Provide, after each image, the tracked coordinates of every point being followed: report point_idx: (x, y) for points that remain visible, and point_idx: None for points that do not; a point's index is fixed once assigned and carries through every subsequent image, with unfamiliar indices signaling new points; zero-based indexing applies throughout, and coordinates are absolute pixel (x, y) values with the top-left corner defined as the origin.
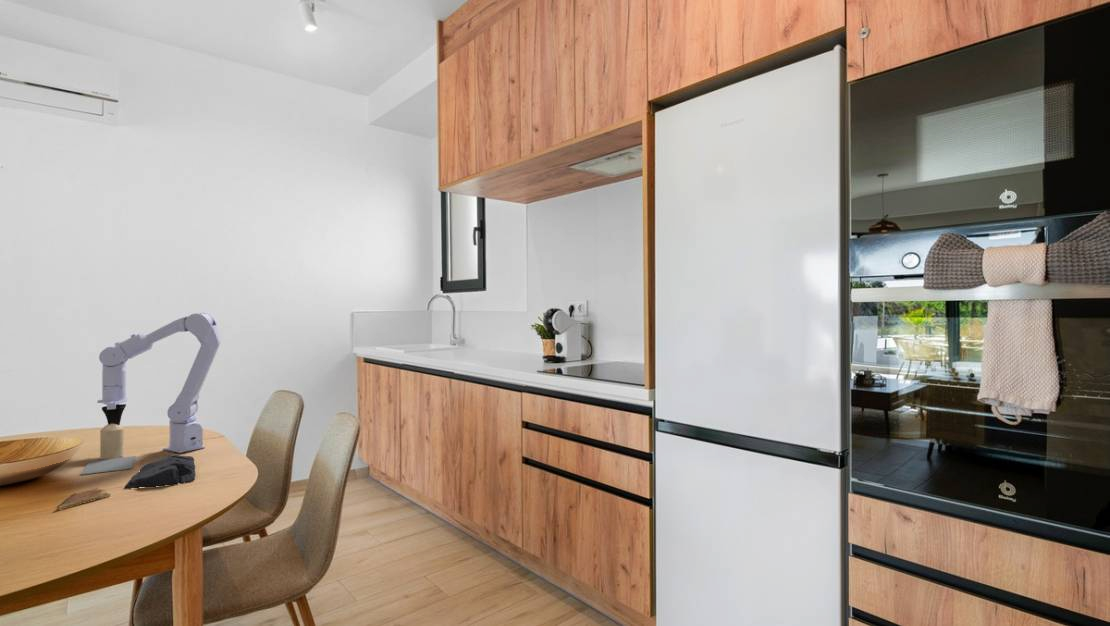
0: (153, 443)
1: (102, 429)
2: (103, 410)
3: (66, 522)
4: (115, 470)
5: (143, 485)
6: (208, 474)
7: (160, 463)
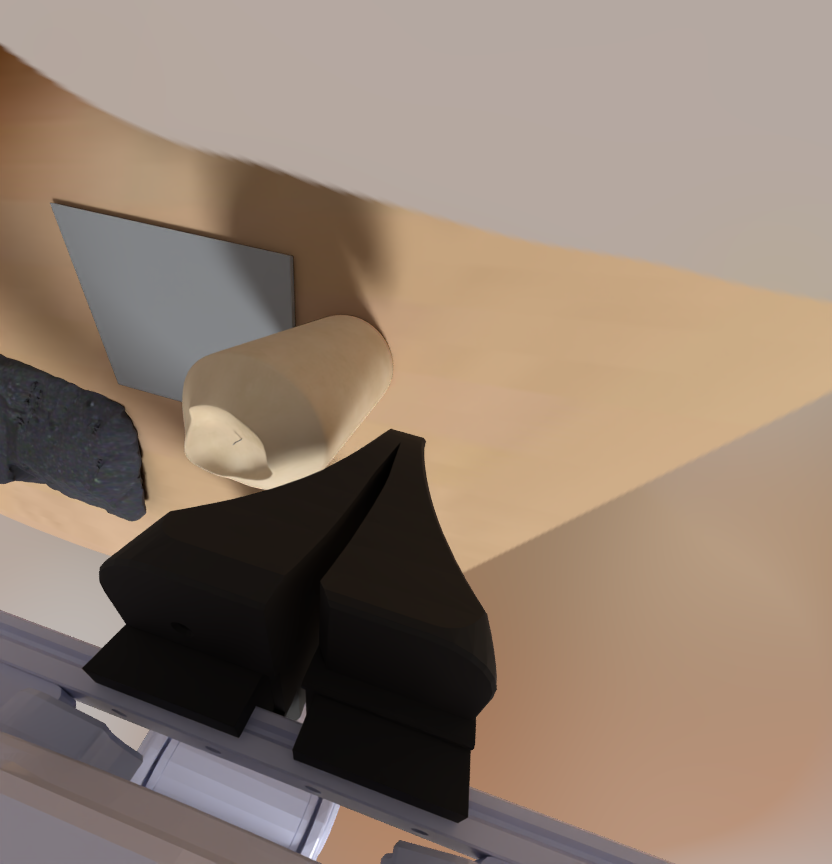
0: (519, 532)
1: (204, 368)
2: (157, 525)
3: None
4: (102, 335)
5: None
6: (51, 494)
7: (21, 445)
